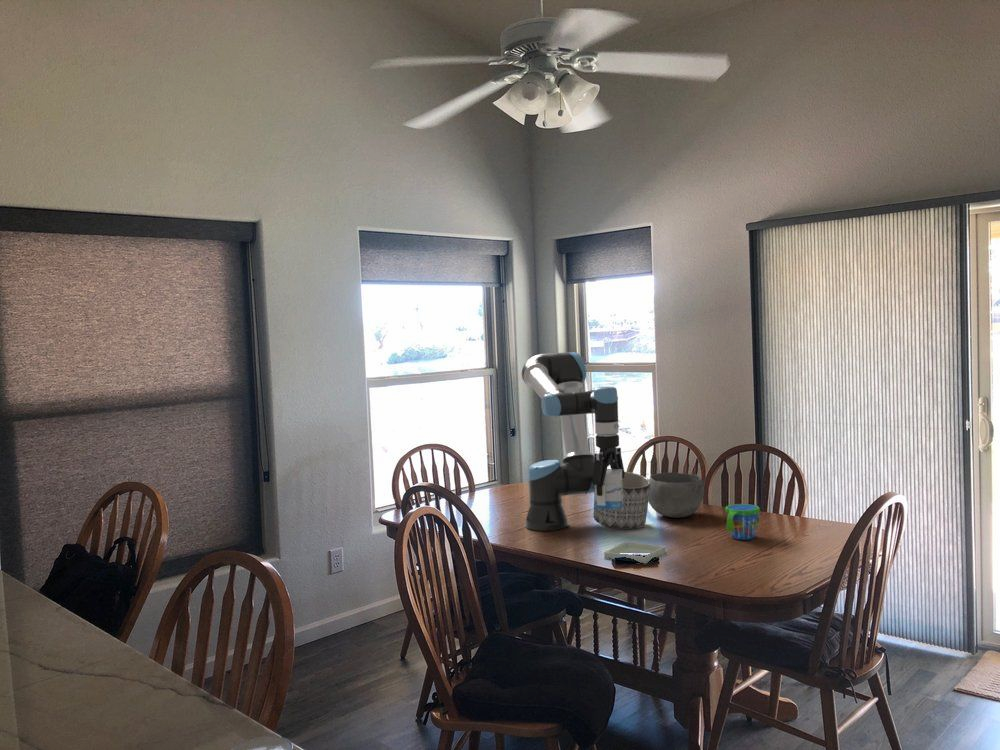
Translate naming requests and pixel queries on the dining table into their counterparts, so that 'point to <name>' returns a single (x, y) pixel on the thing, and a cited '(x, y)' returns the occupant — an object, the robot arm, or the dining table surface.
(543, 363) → the robot arm
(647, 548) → the tray
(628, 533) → the dining table surface
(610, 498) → the ink box
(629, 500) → the planter
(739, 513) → the snack cup
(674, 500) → the bowl
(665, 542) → the dining table surface
